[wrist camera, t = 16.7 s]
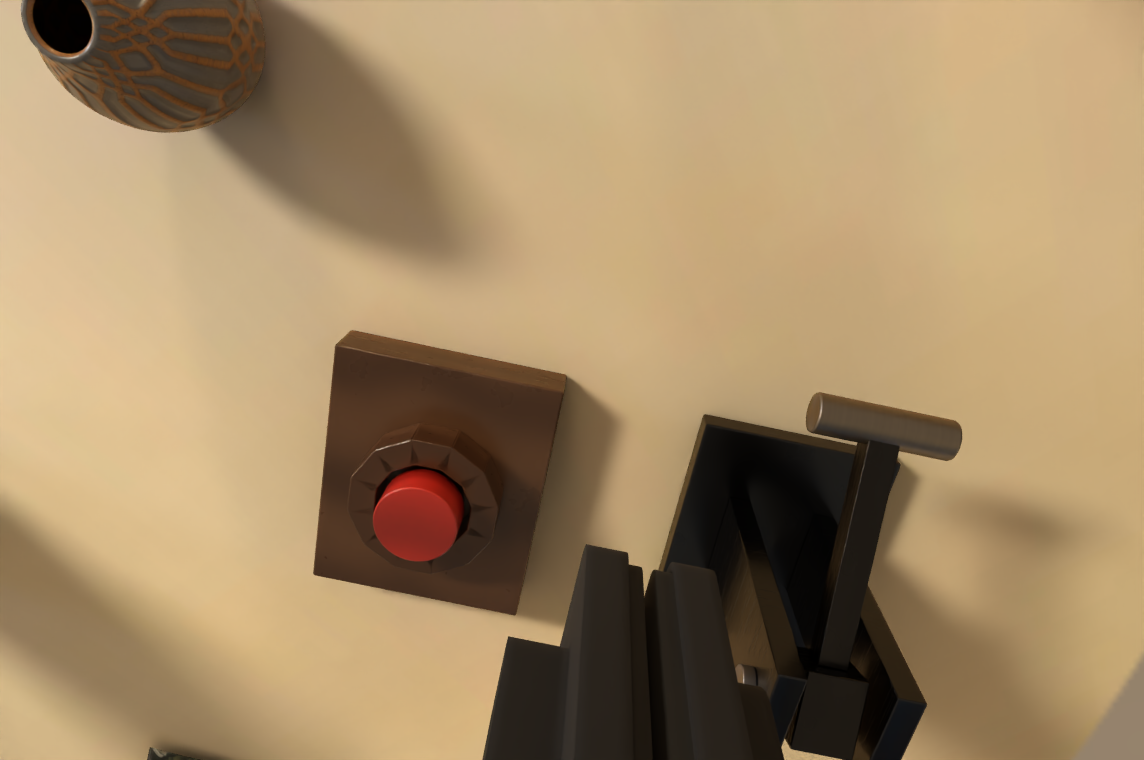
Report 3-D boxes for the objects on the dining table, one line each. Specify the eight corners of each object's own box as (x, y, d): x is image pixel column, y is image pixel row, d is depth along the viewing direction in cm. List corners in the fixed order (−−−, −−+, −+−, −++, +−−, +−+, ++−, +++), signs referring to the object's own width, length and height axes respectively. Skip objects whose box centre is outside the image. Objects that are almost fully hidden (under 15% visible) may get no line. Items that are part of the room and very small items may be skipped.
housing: (350, 329, 35) (319, 358, 32) (567, 374, 36) (561, 408, 32) (328, 549, 40) (298, 598, 36) (521, 588, 40) (511, 641, 36)
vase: (322, 80, 32) (220, 81, 23) (184, 154, 33) (42, 180, 25) (227, -97, 30) (79, -164, 21) (84, -11, 31) (-107, -43, 23)
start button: (388, 460, 34) (376, 479, 32) (470, 477, 34) (463, 497, 32) (379, 531, 35) (367, 553, 33) (458, 546, 35) (450, 569, 33)
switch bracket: (703, 413, 36) (746, 578, 24) (893, 452, 36) (1029, 636, 24) (647, 606, 40) (661, 830, 28) (819, 640, 40) (904, 877, 28)
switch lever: (806, 389, 28) (829, 394, 26) (940, 417, 29) (974, 424, 26) (734, 708, 29) (750, 741, 27) (865, 734, 29) (892, 770, 27)
